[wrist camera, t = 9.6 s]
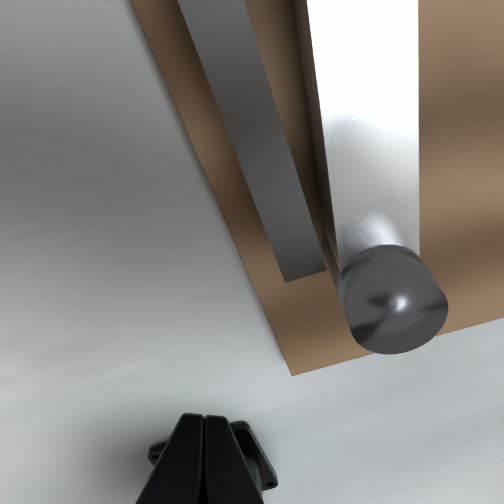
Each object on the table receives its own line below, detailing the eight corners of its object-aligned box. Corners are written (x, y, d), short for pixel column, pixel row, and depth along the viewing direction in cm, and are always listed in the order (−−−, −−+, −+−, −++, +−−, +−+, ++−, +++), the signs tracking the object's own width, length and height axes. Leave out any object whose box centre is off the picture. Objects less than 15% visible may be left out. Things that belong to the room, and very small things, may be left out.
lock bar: (399, 264, 20) (447, 344, 15) (326, 278, 20) (353, 361, 16) (384, -136, 13) (466, -189, 8) (271, -107, 13) (294, -145, 9)
